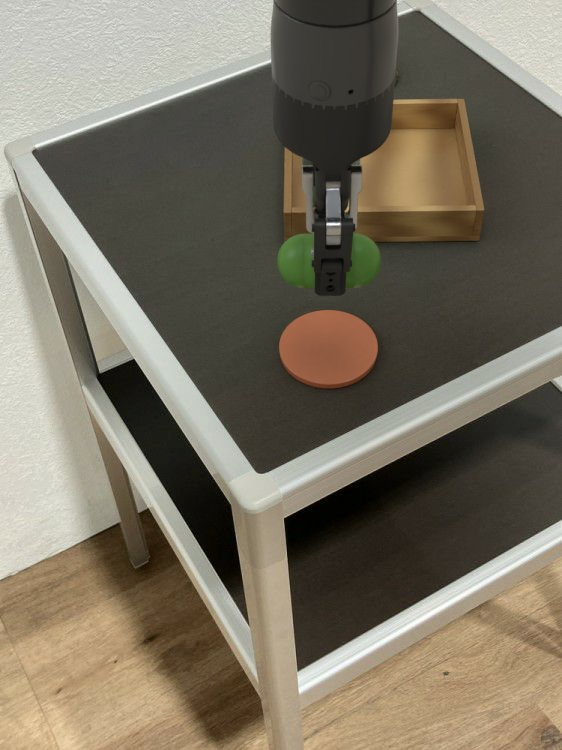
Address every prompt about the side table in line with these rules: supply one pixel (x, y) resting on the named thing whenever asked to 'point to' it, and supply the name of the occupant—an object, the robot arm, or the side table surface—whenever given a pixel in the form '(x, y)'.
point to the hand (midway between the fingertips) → (329, 268)
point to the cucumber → (298, 259)
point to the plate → (328, 349)
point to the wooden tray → (409, 179)
